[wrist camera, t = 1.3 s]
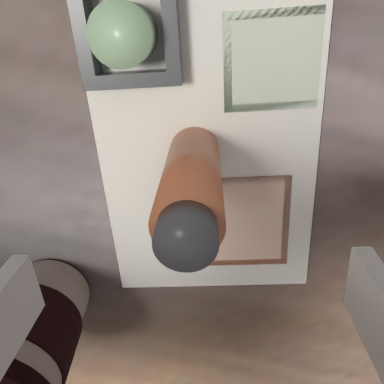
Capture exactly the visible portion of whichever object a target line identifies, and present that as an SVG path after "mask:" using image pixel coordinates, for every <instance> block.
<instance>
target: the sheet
mask: <svg viewBox="0 0 384 384" xmlns="http://www.w3.org/2000/svg"><path fill="white" fill-rule="evenodd" d="M103 1H106V0H91V3H92V9H94V8H95V7H96V6H97V5H98V4H100V3H101V2H103ZM127 1H131V2H135V3H137V4H140V5H141V6H143V7H144V8H145V9H147V10H148V11H149V13H150V14H151V15H152V17H153V19H154V21H155V23H156V26H157V31H158V39H157V44H156V47H155V49H154V51H153V53H152V54H151V55H150V57H149V58H147V59H146V60H145V61H143V62H141V63H140V64H138V65H137V66H135V67H133V68H130V69H126V70H117V69H113V68H110V67H108V66H106V65H104V64H103V63H101V65H102V71H103V72H114V71H131V70H148V69H164V68H166V62H165V51H164V39H163V28H162V17H161V5H160V0H127ZM178 8H179V23H180V37H181V52H182V66H183V81H184V82H183V84H182V86H169V87H152V88H134V89H117V90H99V91H86V92H87V97H88V103H89V108H90V114H91V119H92V124H93V130H94V135H95V141H96V146H97V152H98V157H99V162H100V168H101V173H102V179H103V184H104V189H105V195H106V200H107V206H108V211H109V217H110V222H111V227H112V233H113V238H114V244H115V249H116V255H117V260H118V265H119V271H120V276H121V282H122V287H123V288H136V287H180V286H223V285H267V284H306V279H307V269H308V258H309V248H310V238H311V227H312V217H313V207H314V196H315V186H316V175H317V165H318V155H319V144H320V134H321V124H322V113H323V103H324V92H325V82H326V72H327V61H328V51H329V41H330V30H331V20H332V10H333V0H178ZM188 127H200V128H204V129H206V130H208V131H209V132H210V133H212V134H213V135H214V137H215V138H216V140H217V142H218V146H219V155H220V165H221V176H222V186H223V197H224V208H225V218H226V233H225V237H224V239H223V241H222V243H221V244H220V246H219V252H218V254H217V256H216V258H215V260H214V261H213V262H212V263H211V264H210V265H209V266H207V267H206V268H204V269H202V270H200V271H196V272H190V273H183V272H177V271H174V270H171V269H169V268H167V267H165V266H164V265H163V264H161V263H160V262H159V261H158V259H157V258H156V257H155V255H154V252H153V250H152V239H151V236H150V234H149V229H148V222H149V217H150V213H151V210H152V207H153V203H154V200H155V196H156V193H157V189H158V186H159V183H160V179H161V176H162V172H163V169H164V166H165V162H166V159H167V155H168V152H169V148H170V145H171V142H172V140H173V138H174V136H175V135H176V134H177V133H178V132H180V131H181V130H183V129H185V128H188Z"/></svg>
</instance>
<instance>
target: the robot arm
mask: <svg viewBox="0 0 384 384" xmlns="http://www.w3.org/2000/svg"><path fill="white" fill-rule="evenodd" d="M343 302H344V304H345V306H346V308H347V310H348V312H349V314H350V316H351V318H352V321H353V323H354V325H355V327H356V329H357V331H358V333H359V335H360V337H361V340H362V342H363V344H364V346H365V348H366V350H367V352H368V354H369V356H370V359H371V361H372V363H373V365H374V367H375V369H376V371H377V373H378V375H379V378H380V380H381V382H382V384H384V263H383V262H382V260H381V259H380V257H379V256H378V255H377V253H376V252H375V250H374V249H373V248H372V246H368V247H352V248H351V254H350V260H349V267H348V273H347V280H346V286H345V293H344V299H343ZM44 306H45V303H44V299H43V296H42V293H41V290H40V286H39V283H38V280H37V277H36V274H35V270H34V267H33V264H32V261H31V257H30V254H29V255H12V256H11V257H10V258H9V259H8V260H7V261H6V263H5V264H4V265H3V266H2V267H1V268H0V382H1V380H2V378H3V376H4V375H5V373H6V371H7V370H8V368H9V366H10V364H11V363H12V361H13V359H14V358H15V356H16V354H17V352H18V351H19V349H20V347H21V346H22V344H23V342H24V340H25V339H26V337H27V335H28V334H29V332H30V330H31V328H32V327H33V325H34V323H35V322H36V320H37V318H38V316H39V315H40V313H41V311H42V310H43V308H44Z"/></svg>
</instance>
